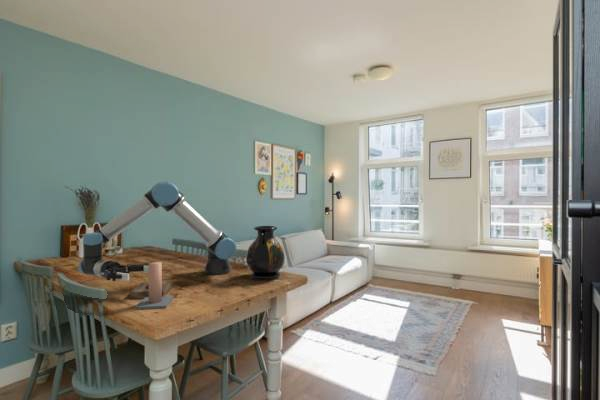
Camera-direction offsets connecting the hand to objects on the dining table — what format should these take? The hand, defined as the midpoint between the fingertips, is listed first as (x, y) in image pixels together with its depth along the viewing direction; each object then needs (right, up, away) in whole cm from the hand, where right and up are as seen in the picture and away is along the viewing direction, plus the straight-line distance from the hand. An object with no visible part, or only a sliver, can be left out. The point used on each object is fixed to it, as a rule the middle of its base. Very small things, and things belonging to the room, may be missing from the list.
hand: (142, 273), depth 136 cm
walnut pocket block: (-1, -12, +12) cm, 17 cm away
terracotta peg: (+6, -11, -2) cm, 13 cm away
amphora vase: (+48, -12, +42) cm, 65 cm away
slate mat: (+7, -12, -2) cm, 14 cm away
